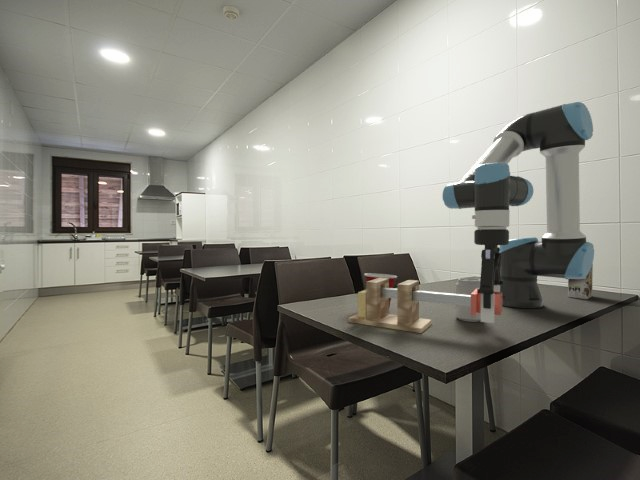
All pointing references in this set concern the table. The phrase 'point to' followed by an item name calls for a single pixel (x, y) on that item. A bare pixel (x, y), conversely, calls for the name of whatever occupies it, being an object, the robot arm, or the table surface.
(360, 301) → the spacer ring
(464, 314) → the can
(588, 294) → the coffee box
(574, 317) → the table surface
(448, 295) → the shaft
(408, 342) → the table surface
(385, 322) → the bearing stand
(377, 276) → the plastic cup
